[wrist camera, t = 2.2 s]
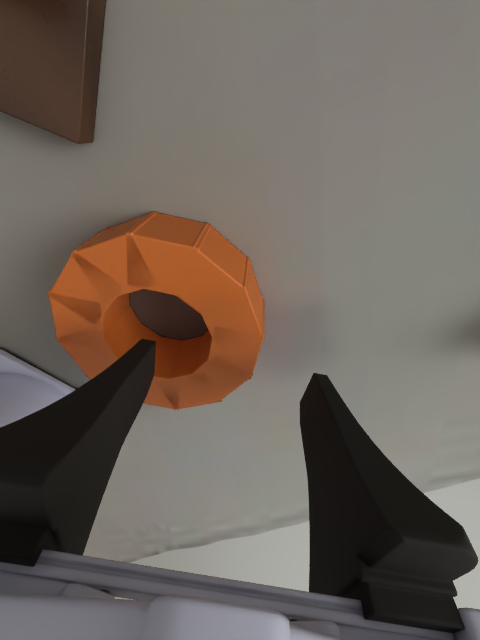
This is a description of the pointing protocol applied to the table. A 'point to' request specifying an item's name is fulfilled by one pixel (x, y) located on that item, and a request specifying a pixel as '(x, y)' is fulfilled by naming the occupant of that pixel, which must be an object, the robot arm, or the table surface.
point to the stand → (52, 64)
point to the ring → (171, 278)
